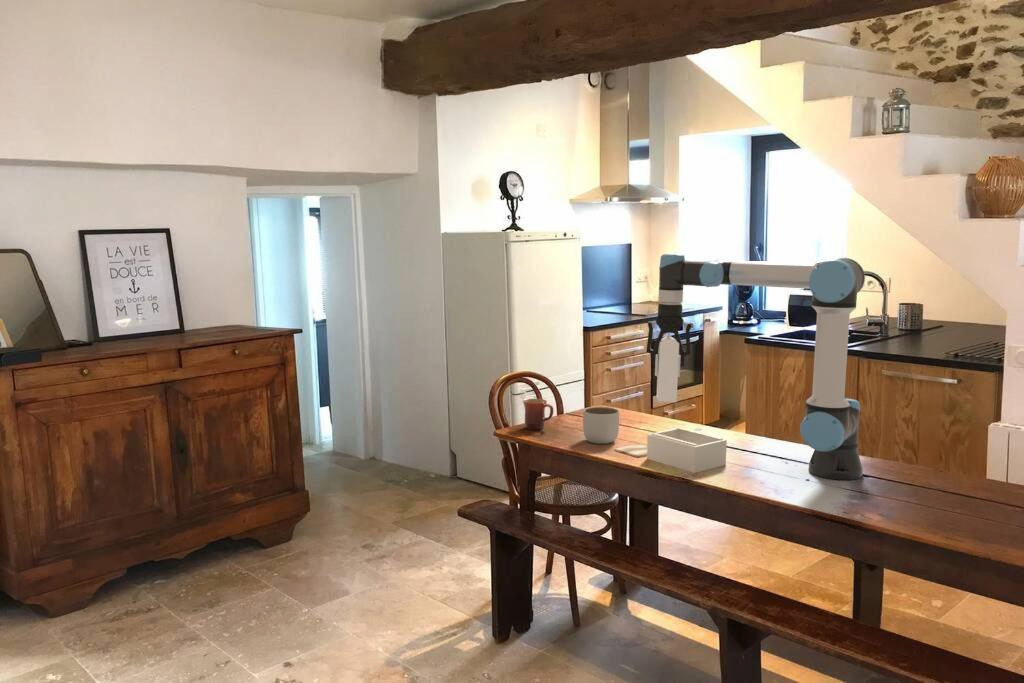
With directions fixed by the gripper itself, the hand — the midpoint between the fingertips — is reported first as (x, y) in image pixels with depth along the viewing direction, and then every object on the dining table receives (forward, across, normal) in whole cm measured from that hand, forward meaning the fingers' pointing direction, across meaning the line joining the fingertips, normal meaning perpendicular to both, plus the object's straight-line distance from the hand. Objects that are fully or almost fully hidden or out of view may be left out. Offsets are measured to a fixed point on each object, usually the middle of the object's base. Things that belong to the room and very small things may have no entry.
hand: (667, 375), depth 263 cm
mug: (+28, +46, -30) cm, 62 cm away
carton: (+27, -7, +4) cm, 28 cm away
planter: (+27, +22, -16) cm, 39 cm away
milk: (+8, 0, 0) cm, 8 cm away
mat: (+27, +8, -6) cm, 29 cm away
